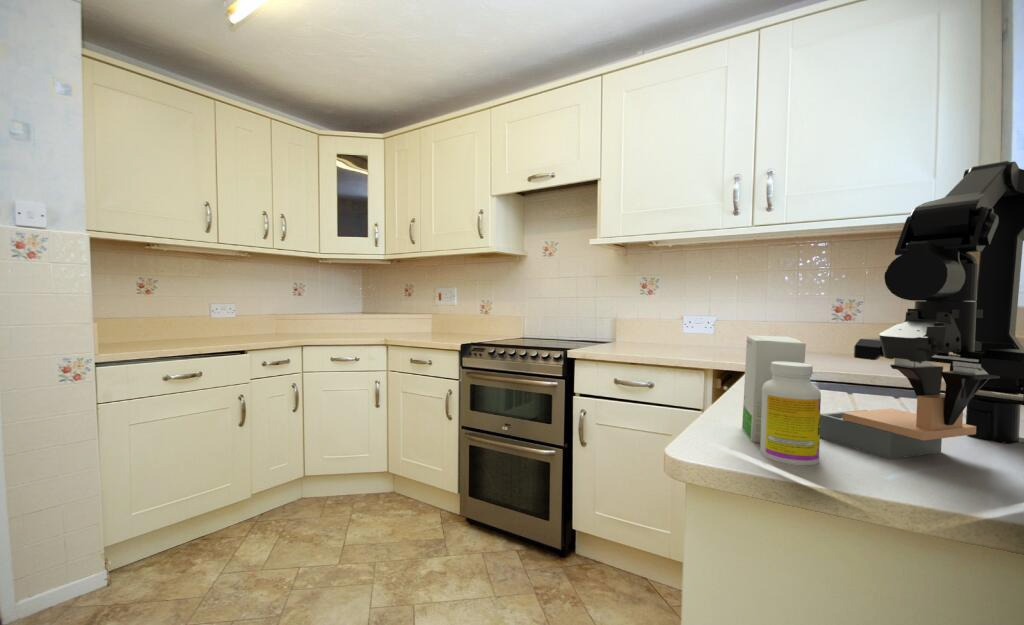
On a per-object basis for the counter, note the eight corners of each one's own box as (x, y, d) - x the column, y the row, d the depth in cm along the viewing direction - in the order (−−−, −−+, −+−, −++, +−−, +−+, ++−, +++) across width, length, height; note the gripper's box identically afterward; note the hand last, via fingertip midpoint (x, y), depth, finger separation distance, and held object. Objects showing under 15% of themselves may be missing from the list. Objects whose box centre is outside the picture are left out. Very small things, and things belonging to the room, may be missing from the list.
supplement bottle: (828, 472, 56) (832, 368, 56) (770, 467, 57) (773, 366, 57) (805, 454, 63) (808, 361, 62) (753, 450, 64) (755, 359, 64)
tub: (865, 435, 72) (866, 409, 72) (940, 456, 62) (942, 427, 62) (817, 440, 69) (818, 414, 69) (889, 463, 59) (890, 432, 59)
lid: (891, 415, 68) (892, 381, 68) (976, 434, 59) (977, 395, 59) (842, 419, 65) (843, 385, 65) (923, 440, 56) (924, 400, 56)
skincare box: (741, 430, 74) (744, 334, 73) (787, 434, 72) (791, 336, 71) (751, 446, 66) (754, 338, 65) (803, 451, 64) (807, 340, 63)
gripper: (827, 300, 64) (823, 409, 65) (1000, 301, 47) (993, 452, 47) (883, 300, 68) (879, 404, 68) (1065, 302, 50) (1058, 443, 50)
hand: (939, 422), depth 58 cm, fingers closed on lid, 2 cm apart
